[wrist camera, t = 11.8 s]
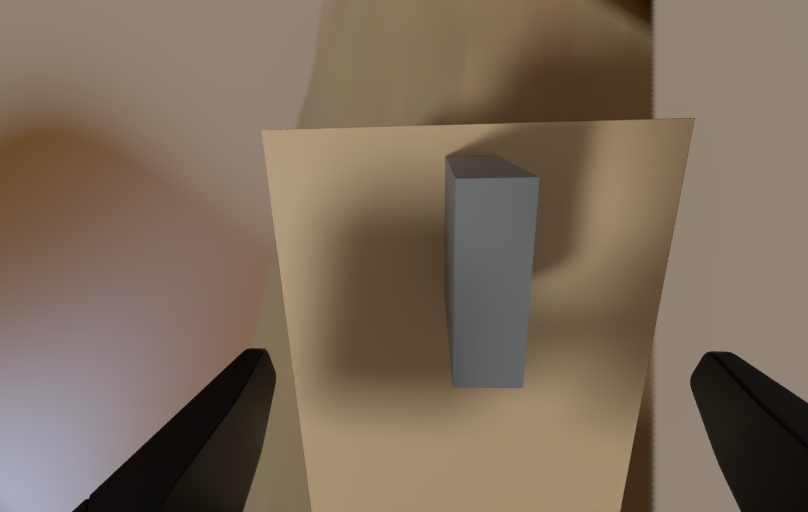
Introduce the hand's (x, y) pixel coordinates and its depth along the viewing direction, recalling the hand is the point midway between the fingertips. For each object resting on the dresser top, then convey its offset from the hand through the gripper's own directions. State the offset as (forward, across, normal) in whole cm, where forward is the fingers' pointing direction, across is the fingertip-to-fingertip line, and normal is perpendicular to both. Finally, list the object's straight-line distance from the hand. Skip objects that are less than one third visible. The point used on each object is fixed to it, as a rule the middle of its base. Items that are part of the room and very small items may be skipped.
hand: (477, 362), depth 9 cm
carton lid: (+2, 0, +3) cm, 4 cm away
